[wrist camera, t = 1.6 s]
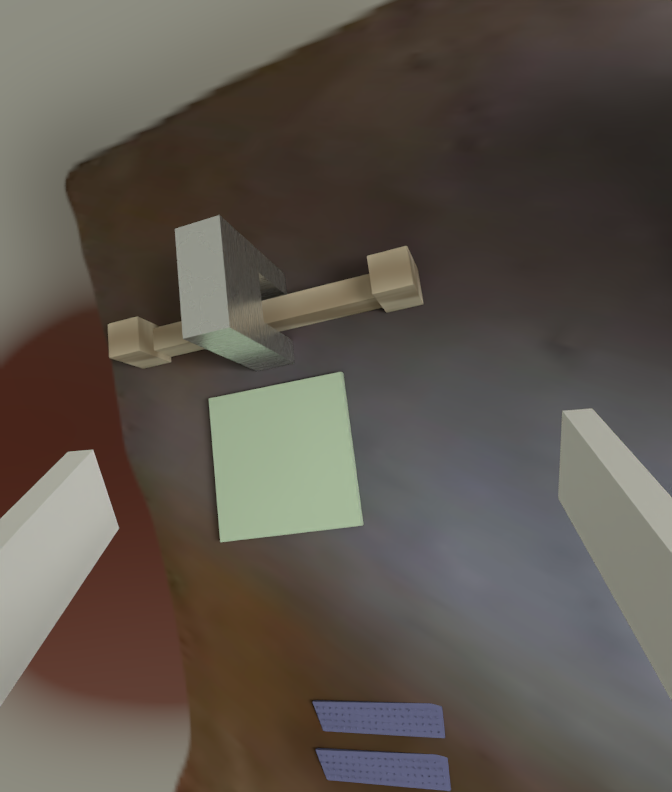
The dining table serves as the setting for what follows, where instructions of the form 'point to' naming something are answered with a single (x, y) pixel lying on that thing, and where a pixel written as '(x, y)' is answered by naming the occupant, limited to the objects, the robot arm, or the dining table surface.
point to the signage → (384, 765)
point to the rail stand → (284, 309)
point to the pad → (284, 459)
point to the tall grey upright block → (229, 295)
